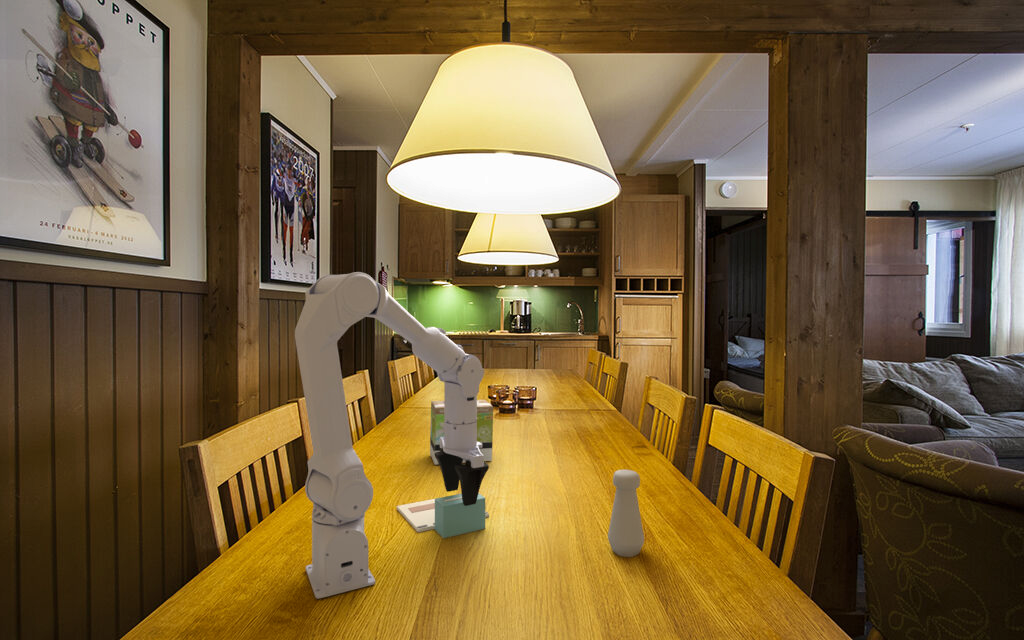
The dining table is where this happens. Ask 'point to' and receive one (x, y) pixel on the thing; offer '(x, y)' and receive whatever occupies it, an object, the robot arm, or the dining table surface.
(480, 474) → the robot arm
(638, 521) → the salt shaker
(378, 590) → the dining table surface
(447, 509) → the teal rectangular block
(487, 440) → the tea box
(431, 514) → the white card
